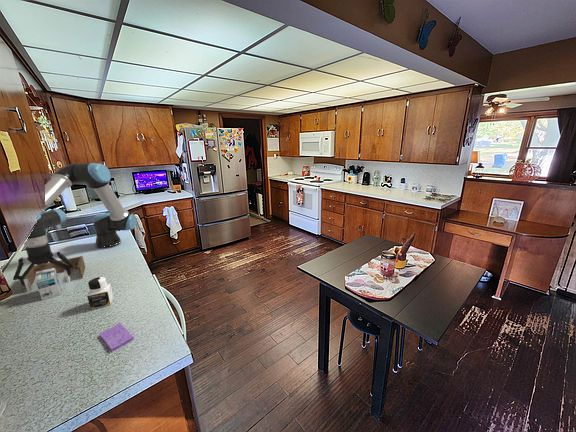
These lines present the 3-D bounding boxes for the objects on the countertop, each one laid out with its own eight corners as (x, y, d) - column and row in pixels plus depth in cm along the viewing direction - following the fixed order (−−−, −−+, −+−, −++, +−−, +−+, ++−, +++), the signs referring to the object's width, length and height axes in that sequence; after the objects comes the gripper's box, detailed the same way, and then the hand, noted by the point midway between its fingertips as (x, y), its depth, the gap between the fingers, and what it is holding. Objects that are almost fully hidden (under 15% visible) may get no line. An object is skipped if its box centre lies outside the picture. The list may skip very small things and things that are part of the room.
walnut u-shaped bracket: (85, 266, 140) (82, 255, 138) (82, 278, 126) (79, 266, 125) (33, 278, 127) (30, 266, 126) (25, 292, 114) (20, 279, 112)
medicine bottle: (90, 309, 101) (83, 285, 98) (94, 301, 107) (88, 277, 104) (110, 305, 104) (104, 281, 101) (113, 296, 110) (108, 273, 107)
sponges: (112, 353, 80) (111, 348, 79) (99, 337, 87) (98, 332, 86) (134, 340, 85) (134, 336, 84) (121, 325, 92) (120, 321, 92)
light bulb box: (61, 294, 112) (55, 274, 109) (41, 300, 108) (34, 279, 105) (60, 286, 120) (55, 266, 117) (42, 291, 115) (35, 271, 112)
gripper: (-8, 254, 97) (8, 299, 103) (72, 241, 111) (83, 280, 117) (-1, 249, 103) (14, 291, 109) (74, 236, 117) (84, 274, 123)
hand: (50, 286), depth 113 cm, fingers open, 13 cm apart
